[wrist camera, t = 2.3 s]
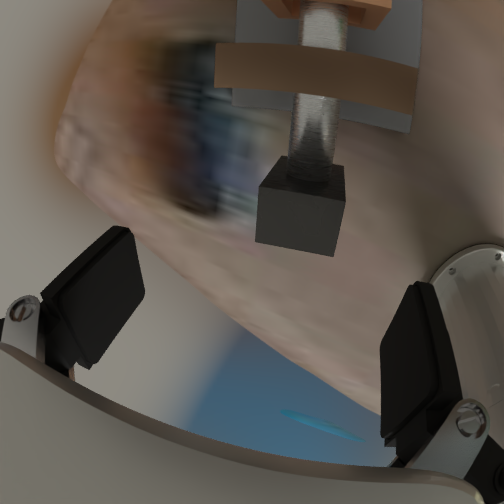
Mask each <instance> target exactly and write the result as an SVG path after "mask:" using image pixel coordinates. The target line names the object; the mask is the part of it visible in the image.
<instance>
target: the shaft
mask: <svg viewBox="0 0 504 504" xmlns="http://www.w3.org/2000/svg"><path fill="white" fill-rule="evenodd" d="M348 11H349V5H343V4H336V3H328V2H319V1H309V0H300V13H299V28H298V43H297V45H301V46H311V47H319V48H327V49H334V50H340V51H346V43H347V28H348ZM340 104H341V99H336V98H330V97H323V96H317V95H310V94H302V93H294V95H293V106H292V117H291V128H290V139H289V149H288V156H281V157H280V159H279V160H278V161H277V163H276V164H275V165H274V167H273V168H272V169H271V171H270V172H269V173H268V175H267V176H266V178H265V179H264V180H263V182H262V183H261V184H260V186H259V193H258V207H257V222H256V236H255V242H258V243H263V244H268V245H274V246H279V247H284V248H289V249H295V250H300V251H305V252H310V253H315V254H320V255H325V256H330V257H333V256H334V252H335V248H336V244H337V239H338V235H339V231H340V226H341V222H342V217H343V212H344V208H345V203H346V197H345V179H344V166H341V165H335V164H332V163H333V157H334V150H335V143H336V136H337V128H338V121H339V113H340Z"/></svg>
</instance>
